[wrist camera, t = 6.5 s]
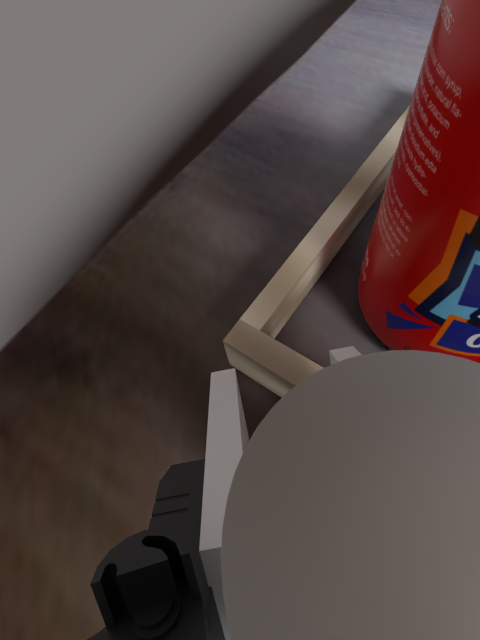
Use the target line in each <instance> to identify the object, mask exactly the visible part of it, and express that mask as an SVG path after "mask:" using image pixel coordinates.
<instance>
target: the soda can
mask: <svg viewBox="0 0 480 640" xmlns="http://www.w3.org/2000/svg"><path fill="white" fill-rule="evenodd" d="M357 293H358V301H359V305H360V309H361V311H362V314H363V316H364V318H365V320H366V322H367V324H368V325H369V327H370V328H371V330H372V331H373V332H374V333H375V335H376V336H377V337H378V338H379V339H380V340H381V341H382V342H383V343H384V344H385V345H386V346H388V347H389V348H390V349H391V350H418V351H427V352H437V353H442V354H447V355H452V356H456V357H461V358H465V359H468V360H471V361H474V362H477V363H480V0H442V2H441V5H440V8H439V12H438V15H437V18H436V22H435V25H434V28H433V31H432V35H431V38H430V41H429V45H428V48H427V51H426V54H425V58H424V61H423V64H422V68H421V71H420V74H419V77H418V81H417V84H416V87H415V91H414V94H413V97H412V100H411V104H410V107H409V110H408V114H407V117H406V120H405V123H404V127H403V130H402V133H401V137H400V140H399V143H398V147H397V150H396V153H395V156H394V160H393V163H392V166H391V170H390V173H389V176H388V179H387V183H386V186H385V189H384V193H383V196H382V199H381V202H380V206H379V209H378V212H377V216H376V219H375V222H374V225H373V229H372V232H371V235H370V239H369V242H368V245H367V248H366V252H365V255H364V258H363V262H362V265H361V269H360V273H359V277H358V287H357Z"/></svg>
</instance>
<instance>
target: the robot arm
mask: <svg viewBox="0 0 480 640" xmlns="http://www.w3.org/2000/svg"><path fill="white" fill-rule="evenodd" d="M329 353H330V361H331V365H332V364H335V363H337V362H340V361H342V360H345V359H347V358H351V357H355V356H359V355H362V354H361V353H360V352H359V351H358V350H357V349H356V348H355V347H354V346H350V347H344V348H339V349H334V350H329ZM248 442H249V436H248V431H247V426H246V421H245V416H244V411H243V406H242V401H241V396H240V391H239V386H238V381H237V376H236V371H235V368H233V369H227V370H222V371H217V372H211V382H210V397H209V412H208V427H207V442H206V456H205V459H203V460H197V461H192V462H187V463H181V464H176V465H172V466H171V467H170V468H169V470H168V471H167V472H166V474H165V475H164V477H163V478H162V479H161V481H160V482H159V487H158V491H157V495H156V503H155V504H154V508H153V512H152V519H151V521H150V525H149V529H148V530H144V531H141V532H139V533H137V534H135V535H132V536H130V537H128V538H126V539H125V540H123V541H122V542H121V543H119V544H118V545H117V546H116V547H114V548H113V549H112V550H110V551H109V553H108V554H107V555H106V556H105V558H104V559H103V560H102V561H101V563H100V564H99V565H98V567H97V569H96V572H95V574H94V576H93V579H92V581H91V587H92V590H93V592H94V595H95V598H96V601H97V603H98V606H99V609H100V611H101V614H102V617H103V619H104V622H105V625H106V627H105V628H104V629H103V630H101V631H100V632H99V633H97V634H95V635H94V636H92V637H91V638H89V639H87V640H231V636H230V632H229V628H228V622H227V616H226V610H225V604H224V598H223V588H222V572H221V546H222V527H223V521H224V515H225V509H226V503H227V498H228V494H229V491H230V487H231V484H232V480H233V477H234V473H235V470H236V468H237V466H238V463H239V461H240V459H241V456H242V454H243V452H244V449H245V447H246V445H247V444H248Z"/></svg>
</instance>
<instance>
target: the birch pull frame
mask: <svg viewBox="0 0 480 640" xmlns="http://www.w3.org/2000/svg"><path fill="white" fill-rule="evenodd" d="M409 107H410V105H409ZM409 107H408V108H407V109H406V110H405V112H404V113H403V114H402V115H401V117H400V118H399V119H398V120H397V122H396V123H395V124H394V125H393V127H392V128H391V129H390V131H389V132H388V133H387V134H386V136H385V137H384V138H383V139H382V141H381V142H380V143H379V144H378V146H377V147H376V148H375V149H374V151H373V152H372V153H371V154H370V156H369V157H368V158H367V159H366V161H365V162H364V163H363V164H362V166H361V167H360V168H359V170H358V171H357V172H356V173H355V175H354V176H353V177H352V178H351V180H350V181H349V182H348V183H347V185H346V186H345V187H344V188H343V190H342V191H341V192H340V193H339V195H338V196H337V197H336V198H335V200H334V201H333V202H332V203H331V205H330V206H329V207H328V209H327V210H326V211H325V212H324V214H323V215H322V216H321V217H320V219H319V220H318V221H317V222H316V224H315V225H314V226H313V227H312V229H311V230H310V231H309V232H308V234H307V235H306V236H305V237H304V239H303V240H302V241H301V242H300V244H299V245H298V246H297V248H296V249H295V250H294V251H293V253H292V254H291V255H290V256H289V258H288V259H287V260H286V261H285V263H284V264H283V265H282V266H281V268H280V269H279V270H278V271H277V273H276V274H275V275H274V276H273V278H272V279H271V280H270V281H269V283H268V284H267V285H266V287H265V288H264V289H263V290H262V292H261V293H260V294H259V295H258V297H257V298H256V299H255V300H254V302H253V303H252V304H251V305H250V307H249V308H248V309H247V310H246V312H245V313H244V314H243V315H242V317H241V318H240V319H239V321H238V322H237V323H236V324H235V326H234V327H233V328H232V329H231V331H230V332H229V333H228V334H227V336H226V337H225V338H224V339H223V344H224V347H225V350H226V354H227V357H228V360H229V364H230V365H231V366H233V367H235V368H236V369H238V370H239V371H241V372H242V373H244V374H245V375H247V376H249V377H250V378H252V379H253V380H255V381H256V382H258V383H259V384H261V385H263V386H264V387H266V388H267V389H269V390H270V391H272V392H273V393H275V394H276V395H278V396H280V397H281V399H280V400H279V401H278V402H277V403H276V404H275V405H274V406H273V407H272V408H271V410H270V411H269V412H268V414H267V415H266V416H265V417H264V419H263V420H262V421H261V423H260V424H259V425H258V427H257V428H256V430H255V432H254V433H253V435H252V437H251V439H250V440H249V442H248V444H247V445H246V447H245V449H244V452H243V454H242V456H241V459H240V461H239V463H238V466H237V468H236V470H235V473H234V477H233V480H232V484H231V487H230V491H229V494H228V498H227V503H226V509H225V515H224V521H223V527H222V546H221V572H222V588H223V598H224V604H225V610H226V616H227V622H228V628H229V632H230V636H231V640H480V363H477V362H474V361H471V360H468V359H465V358H461V357H456V356H452V355H447V354H442V353H437V352H427V351H418V350H390V351H382V352H374V353H367V354H363V355H359V356H355V357H351V358H347V359H345V360H342V361H340V362H337V363H335V364H332V365H329V366H327V367H325V368H323V367H321V366H320V365H318V364H316V363H314V362H313V361H311V360H309V359H308V358H306V357H304V356H302V355H301V354H299V353H297V352H296V351H294V350H292V349H291V348H289V347H287V346H285V345H284V344H282V343H280V342H279V341H277V340H275V337H276V336H277V335H278V333H279V332H280V330H281V329H282V328H283V326H284V325H285V324H286V322H287V321H288V319H289V318H290V317H291V315H292V314H293V313H294V311H295V310H296V309H297V307H298V306H299V304H300V303H301V302H302V300H303V299H304V298H305V296H306V295H307V294H308V292H309V291H310V289H311V288H312V287H313V285H314V284H315V283H316V281H317V280H318V279H319V277H320V276H321V274H322V273H323V272H324V270H325V269H326V268H327V266H328V265H329V263H330V262H331V261H332V259H333V258H334V257H335V255H336V254H337V253H338V251H339V250H340V248H341V247H342V246H343V244H344V243H345V242H346V240H347V239H348V238H349V236H350V235H351V233H352V232H353V231H354V229H355V228H356V227H357V225H358V224H359V223H360V221H361V220H362V218H363V217H364V216H365V214H366V213H367V212H368V210H369V209H370V208H371V206H372V205H373V203H374V202H375V201H376V199H377V198H378V197H379V195H380V194H381V192H382V191H383V190H384V188H385V186H386V183H387V179H388V176H389V173H390V170H391V166H392V163H393V160H394V156H395V153H396V150H397V147H398V143H399V140H400V137H401V133H402V130H403V127H404V123H405V120H406V117H407V114H408V110H409Z"/></svg>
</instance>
